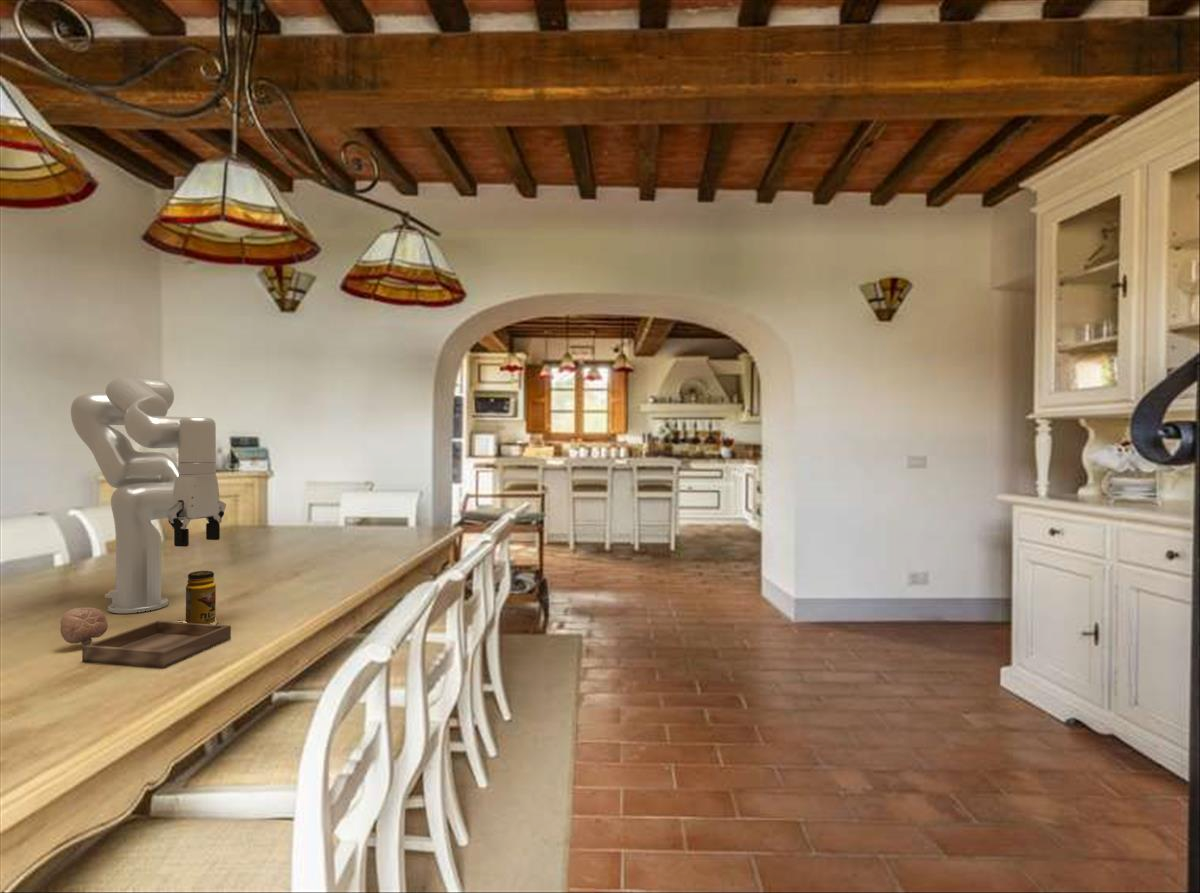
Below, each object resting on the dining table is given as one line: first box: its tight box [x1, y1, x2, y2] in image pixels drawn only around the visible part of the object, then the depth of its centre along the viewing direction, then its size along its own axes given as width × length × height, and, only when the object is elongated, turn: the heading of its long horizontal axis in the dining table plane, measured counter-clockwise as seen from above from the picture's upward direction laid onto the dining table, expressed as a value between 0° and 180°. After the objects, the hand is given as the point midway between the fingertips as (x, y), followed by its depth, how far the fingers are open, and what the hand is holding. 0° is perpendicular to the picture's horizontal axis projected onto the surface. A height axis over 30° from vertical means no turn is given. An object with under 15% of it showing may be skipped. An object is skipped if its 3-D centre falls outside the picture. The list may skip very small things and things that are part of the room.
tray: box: [81, 620, 232, 669], centre depth 136 cm, size 18×18×3 cm
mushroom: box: [59, 606, 109, 646], centre depth 137 cm, size 8×6×8 cm
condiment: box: [177, 570, 217, 624], centre depth 154 cm, size 7×8×12 cm
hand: (197, 542), depth 154 cm, fingers open, 9 cm apart
